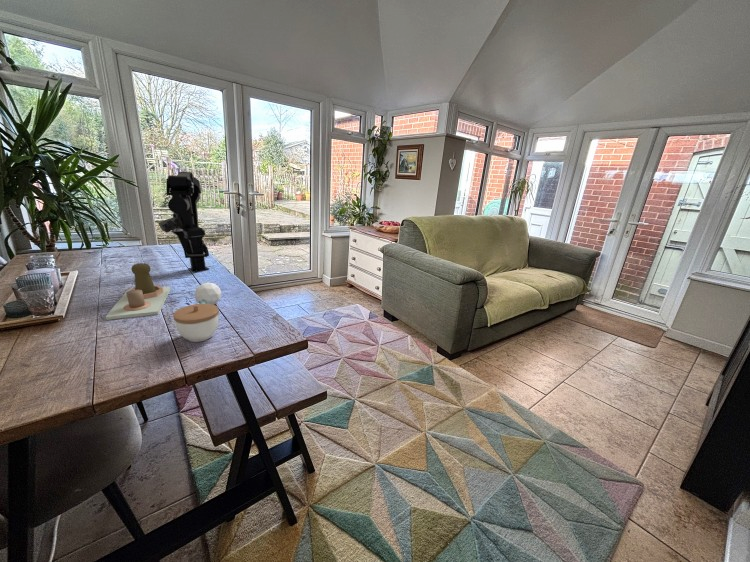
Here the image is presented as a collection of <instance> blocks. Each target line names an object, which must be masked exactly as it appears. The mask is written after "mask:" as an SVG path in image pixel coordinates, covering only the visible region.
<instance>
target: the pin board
mask: <svg viewBox="0 0 750 562" xmlns="http://www.w3.org/2000/svg"><path fill="white" fill-rule="evenodd" d="M154 287H155V290H156V291H155V292H152V293H148V294H143V292H142V290H135V287H133V288H131V289H127V290H126V292H125V293H124V294H123V296H121V297H120V299H119V300H118V301H117V302H116V304H114V306H113V307H112V308H111V309H110V311H109V312H108V313H107V314H106V316H105V320H106V321H107V320H109V321H110V320H117V319H118V320H119V319H130V318H137V317H145V316H155V315H160V313H161V311H162V308H163V306H164V304H165V302H166V299H167V298H168V296H169V293H170V292H171V290H172V289H171V286H163V287H162V286H160V285H155V284H154Z"/></svg>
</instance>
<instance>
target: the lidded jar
mask: <svg viewBox="0 0 750 562" xmlns="http://www.w3.org/2000/svg"><path fill="white" fill-rule="evenodd" d="M219 312H220V309H219V307H218V306H217V305H216V304H214V305H213V304H199V303H195V304H190V305H187V306H183V307H180V308H178V309H177V310H175V311H174V312H173V314H172V317H173V318H172V319H173V320H174V325H175V328H176V331H177V333H178V334H179V335H180V336H181V337H182V338H184V339H185V340H188V341H189V342H192V343H199V342H203V341H207V340H208V339H209V340H210V338H212V337H213V335H214V334H215V332H216V331H217V330H218V328H219V324H220V313H219Z"/></svg>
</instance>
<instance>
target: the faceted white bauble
mask: <svg viewBox="0 0 750 562" xmlns="http://www.w3.org/2000/svg"><path fill="white" fill-rule="evenodd" d="M221 297H222V291H221V288H220V287H219V286H218V285H217V284H216V283H212V282H208V281H207V282H203V283H202V284H199V286H197V287H196V288H195V290H194V298H195V299H194V300H195V302H197V304H213V305H216V304H218V302H219V301H220V300H221Z"/></svg>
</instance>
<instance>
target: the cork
mask: <svg viewBox="0 0 750 562" xmlns="http://www.w3.org/2000/svg"><path fill="white" fill-rule="evenodd" d="M130 269H131V272H132V274H134V288H135V290H142V292H143V294H148V293H152V292H155V291H156V290H155V287H154V285H155V284H154V281H153V279H152V276H151V266H150V265H149V264H148V263H145V262H143V263H135V264H133V265H132V266H131V268H130Z"/></svg>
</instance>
